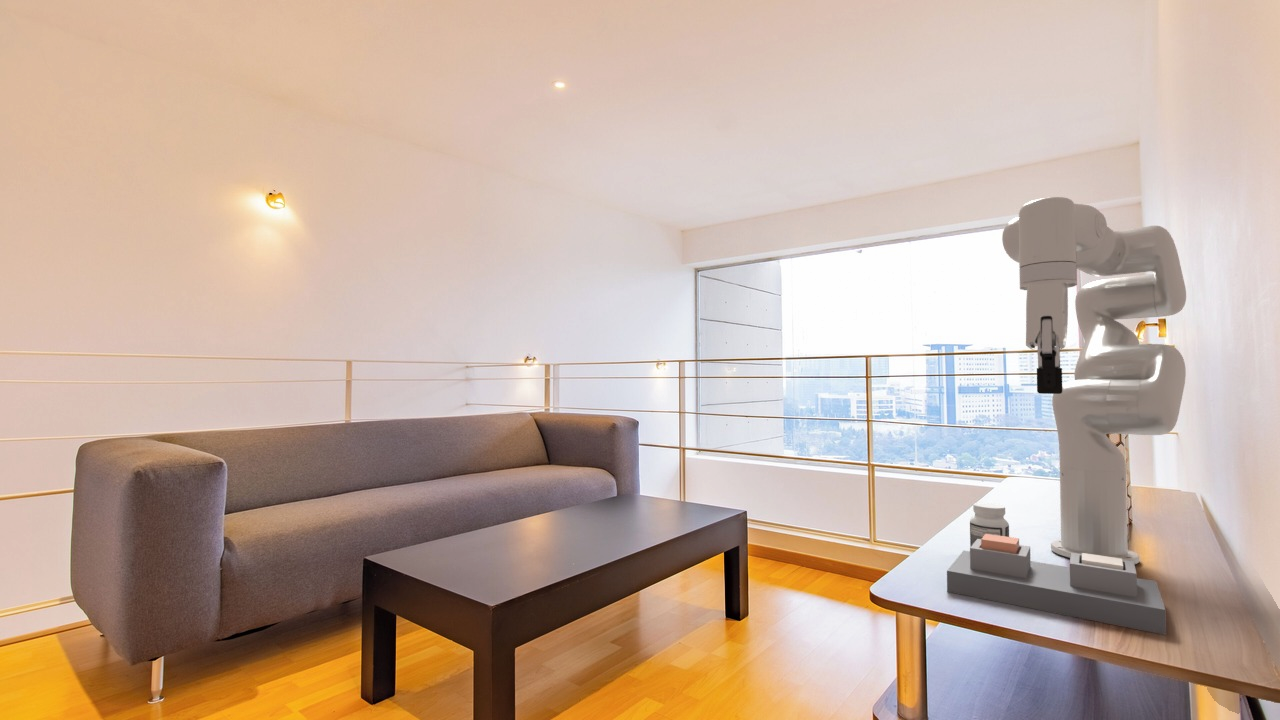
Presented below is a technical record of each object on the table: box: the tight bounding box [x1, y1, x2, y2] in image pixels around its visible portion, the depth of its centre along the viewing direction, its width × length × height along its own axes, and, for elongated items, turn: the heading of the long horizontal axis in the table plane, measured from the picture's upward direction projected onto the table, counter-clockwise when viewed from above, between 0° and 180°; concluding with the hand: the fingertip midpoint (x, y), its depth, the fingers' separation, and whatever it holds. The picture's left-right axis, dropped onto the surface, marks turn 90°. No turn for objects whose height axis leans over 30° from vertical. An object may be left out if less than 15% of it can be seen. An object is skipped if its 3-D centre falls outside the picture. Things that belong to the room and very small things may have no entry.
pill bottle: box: [969, 502, 1010, 548], centre depth 101 cm, size 6×6×10 cm
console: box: [946, 539, 1167, 636], centre depth 85 cm, size 14×24×6 cm, turn 53°
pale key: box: [1082, 553, 1123, 570], centre depth 81 cm, size 4×4×3 cm
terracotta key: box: [981, 534, 1020, 554], centre depth 89 cm, size 4×4×3 cm
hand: (1049, 393), depth 93 cm, fingers closed
